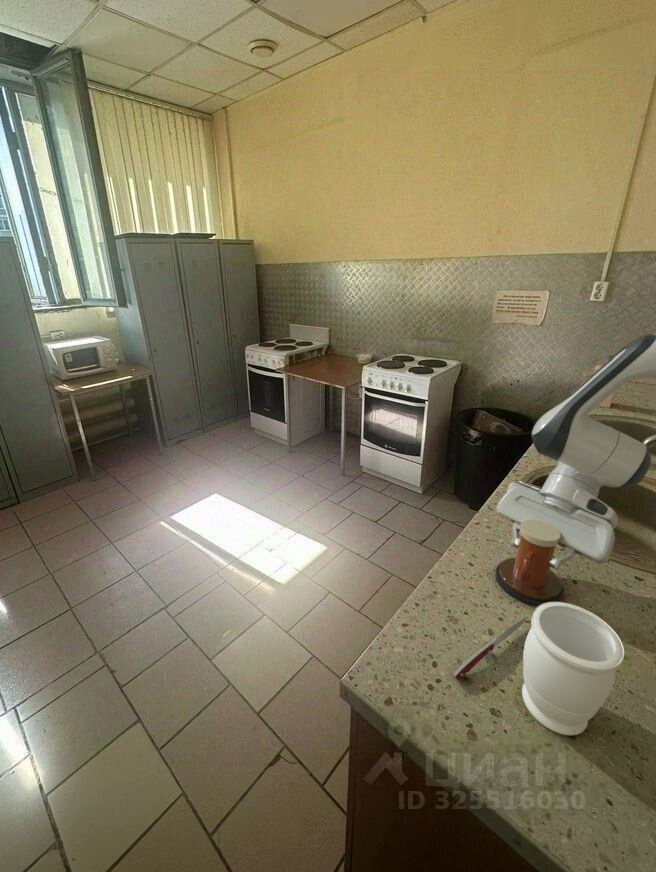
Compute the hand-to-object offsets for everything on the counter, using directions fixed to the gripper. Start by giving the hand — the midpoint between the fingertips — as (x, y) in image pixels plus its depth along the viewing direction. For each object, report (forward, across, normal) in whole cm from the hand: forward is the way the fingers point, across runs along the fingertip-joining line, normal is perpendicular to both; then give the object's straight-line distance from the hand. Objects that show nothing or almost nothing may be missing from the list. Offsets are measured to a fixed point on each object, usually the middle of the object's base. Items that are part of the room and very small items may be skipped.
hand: (533, 556), depth 78 cm
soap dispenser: (-90, -31, +100) cm, 138 cm away
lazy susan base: (+5, 0, +5) cm, 7 cm away
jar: (+20, +14, -10) cm, 26 cm away
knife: (+19, +4, -9) cm, 21 cm away
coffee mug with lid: (+4, 0, +5) cm, 6 cm away
